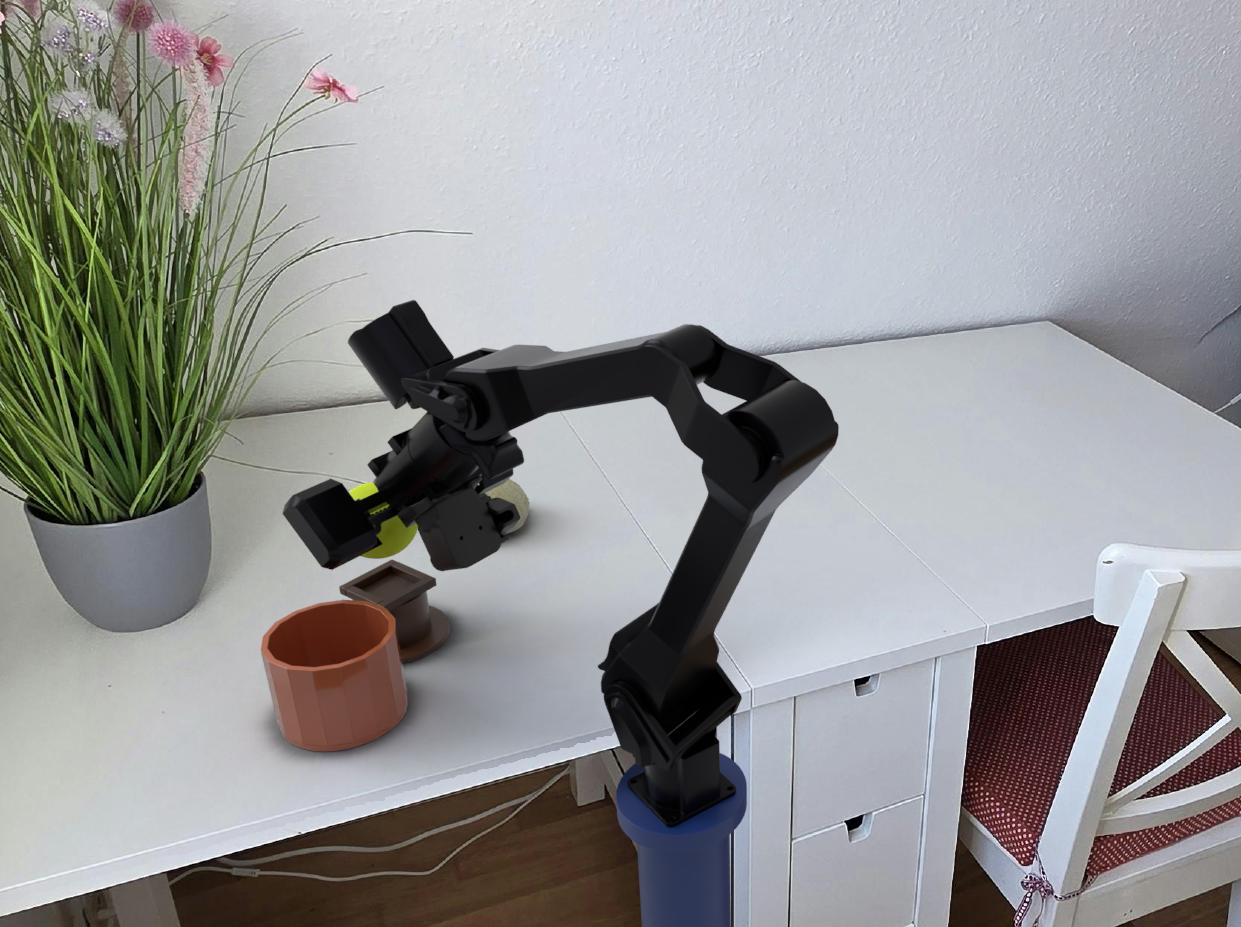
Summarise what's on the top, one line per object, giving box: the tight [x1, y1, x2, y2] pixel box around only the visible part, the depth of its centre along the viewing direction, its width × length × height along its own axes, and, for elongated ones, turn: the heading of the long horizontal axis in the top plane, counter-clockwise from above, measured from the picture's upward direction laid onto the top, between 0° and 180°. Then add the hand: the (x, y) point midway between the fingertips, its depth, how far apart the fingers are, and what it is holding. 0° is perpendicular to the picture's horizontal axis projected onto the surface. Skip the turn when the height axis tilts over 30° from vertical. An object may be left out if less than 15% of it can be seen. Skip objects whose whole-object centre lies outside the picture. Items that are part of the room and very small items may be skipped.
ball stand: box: [338, 559, 451, 664], centre depth 109 cm, size 9×9×6 cm
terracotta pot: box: [260, 599, 409, 752], centre depth 99 cm, size 10×10×8 cm
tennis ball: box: [348, 481, 418, 560], centre depth 105 cm, size 7×7×7 cm
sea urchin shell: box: [478, 478, 530, 536], centre depth 128 cm, size 9×8×8 cm
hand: (367, 528), depth 106 cm, fingers closed on tennis ball, 6 cm apart
